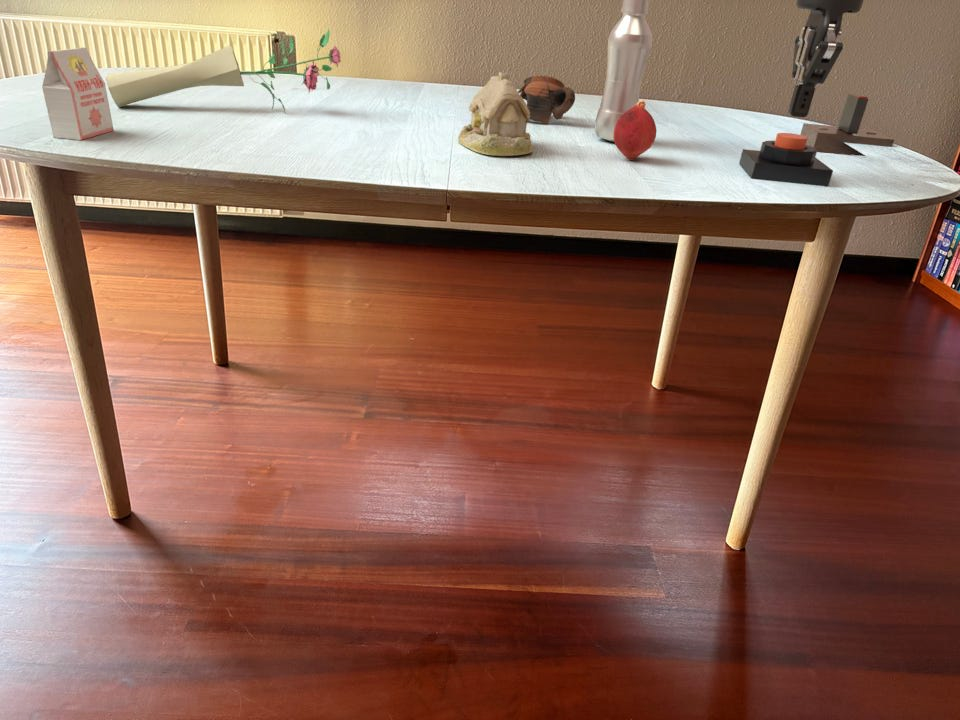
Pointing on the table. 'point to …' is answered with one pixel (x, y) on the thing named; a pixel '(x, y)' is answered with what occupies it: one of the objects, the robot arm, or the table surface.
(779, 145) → the button
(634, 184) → the table surface
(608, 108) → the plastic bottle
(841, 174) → the table surface
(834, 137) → the brown switch base
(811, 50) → the robot arm
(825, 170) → the button housing
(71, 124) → the white gable-top carton
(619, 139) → the onion
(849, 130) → the dark grey rectangular block
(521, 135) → the ceramic model
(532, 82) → the pottery mug
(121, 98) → the flower vase
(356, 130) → the table surface
